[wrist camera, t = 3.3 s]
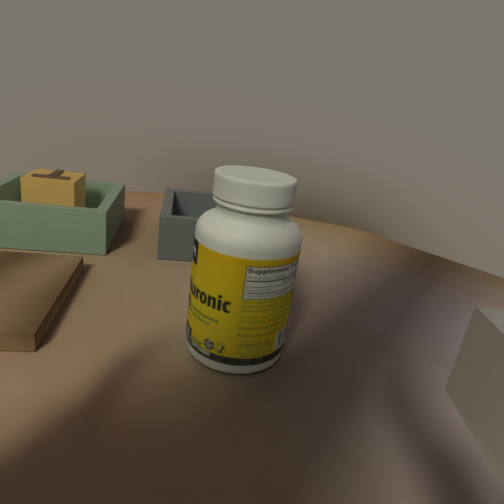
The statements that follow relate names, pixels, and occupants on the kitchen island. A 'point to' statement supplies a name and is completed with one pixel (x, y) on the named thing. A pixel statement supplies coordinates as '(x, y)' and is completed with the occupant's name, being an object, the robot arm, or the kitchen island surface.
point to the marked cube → (54, 187)
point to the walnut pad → (32, 295)
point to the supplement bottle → (243, 271)
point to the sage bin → (61, 219)
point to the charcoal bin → (181, 222)
